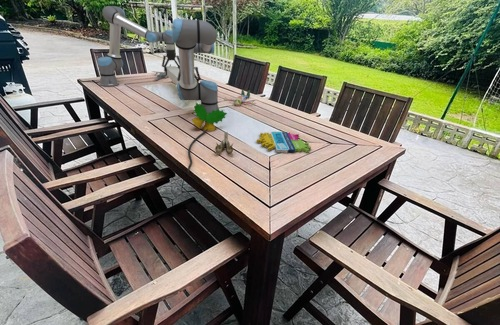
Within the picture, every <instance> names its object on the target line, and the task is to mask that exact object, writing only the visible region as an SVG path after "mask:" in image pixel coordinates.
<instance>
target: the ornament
mask: <svg viewBox="0 0 500 325" xmlns="http://www.w3.org/2000/svg"><path fill="white" fill-rule="evenodd" d="M219 110H220V108H219V109H217V110H216V111H214V110H212V112H211V113H208V112H206V109H204V106H201V103H198V102H195V105H194V106H193V112H194V113H195V118H192V119H191V122H192V123H193V125H195V127H197V128H198V129H202V130H203V131H205V130H207V131H206V132H212V131H213V132H214V131H215V130H216V126H215V124H218V123H219V122H223V119H226V115H227V114H228V113H227V112H224V110H223V109H221V110H220V111H219ZM207 113H208V115H207ZM214 123H215V124H214Z"/></svg>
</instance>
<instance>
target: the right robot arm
mask: <svg viewBox="0 0 500 325" xmlns="http://www.w3.org/2000/svg"><path fill="white" fill-rule="evenodd" d="M172 20H173V21H172V31H173V32H172V42H174V44H175V48H177V50H178V56H179V61H180V67H179V74H178V78H177V80H178V81H179V82H178V83H177V85H176V89H177V95H178V98H179V99H180V100H181V101H200V104H201V106H204V109H206V112H208V113H211V112H212V110H214V111H216V110H217V109H219V111H221V110H220V108H219V102H218V96H219V94H218V93H219V92H218V91H219V88H218V84H217V83H216V82H215V81H213V80H207V79H204V80H203V79H202V78H201V75H200V72H199V67H198V66H195V54H208V55H210V54H211V55H213V54H215V43H216V41H217V39H218V32H217V30H216V28H215V27H214V25H212V24H211V23H209V21H206V20H202V19H187V18H174V19H172ZM195 73H196V74H195ZM180 77H181V79H180ZM208 113H207V115H208ZM207 132H208V131H207V130H203V132H201V133H200V134H199V135H198V136H196V138H194V139H193V140H192V142H191V143H190V145H188V146H189V147H188V149H187V150H188V151H187V152H188V159H189V164H188V167H187V172H186V173H187V174H190V170H191V167H192V165H193V159H192V157H191V148H192V146H193V144H194V143H195V142H196V141H197V140H198V139H199V138H201V137H202V135H204V134H205V133H207Z"/></svg>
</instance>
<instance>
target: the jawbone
mask: <svg viewBox="0 0 500 325" xmlns="http://www.w3.org/2000/svg"><path fill="white" fill-rule="evenodd" d="M223 135H224V136H223V140H222V139H221V142H220V144H218V142H215V144H216V146H215V148H214V149H215V152H214V154H215V155H217V156H218V155H220V153H221V152H223V151H224V150H226V152H227V153H228V155H229V156H233V155H234V154H233V153H234V148H233V144H234V143H230V140H228V139H229V138H228V137H229V136H228V135H229V133H228V131H226V132H224V134H223Z"/></svg>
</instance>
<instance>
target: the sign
mask: <svg viewBox="0 0 500 325" xmlns="http://www.w3.org/2000/svg"><path fill="white" fill-rule="evenodd" d="M299 136H300V135H299V134H298V133H296V134H294V133H291V132H287V131H270V132H264V133H263V132H260V133H259V139H258V138H257V139H256V143H257V144H261V148H263V147H264V148H265V149H267V151H268V152H271V151H272V150H273V149H275V152H276V153H283V154H285V153H287V154H288V153H290V154H293V153H296V152H298V153H301V152H305V153H310V151H311V150H312V149H311V148H312V146H309V142H304V141H303V139H302V138H299Z"/></svg>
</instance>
